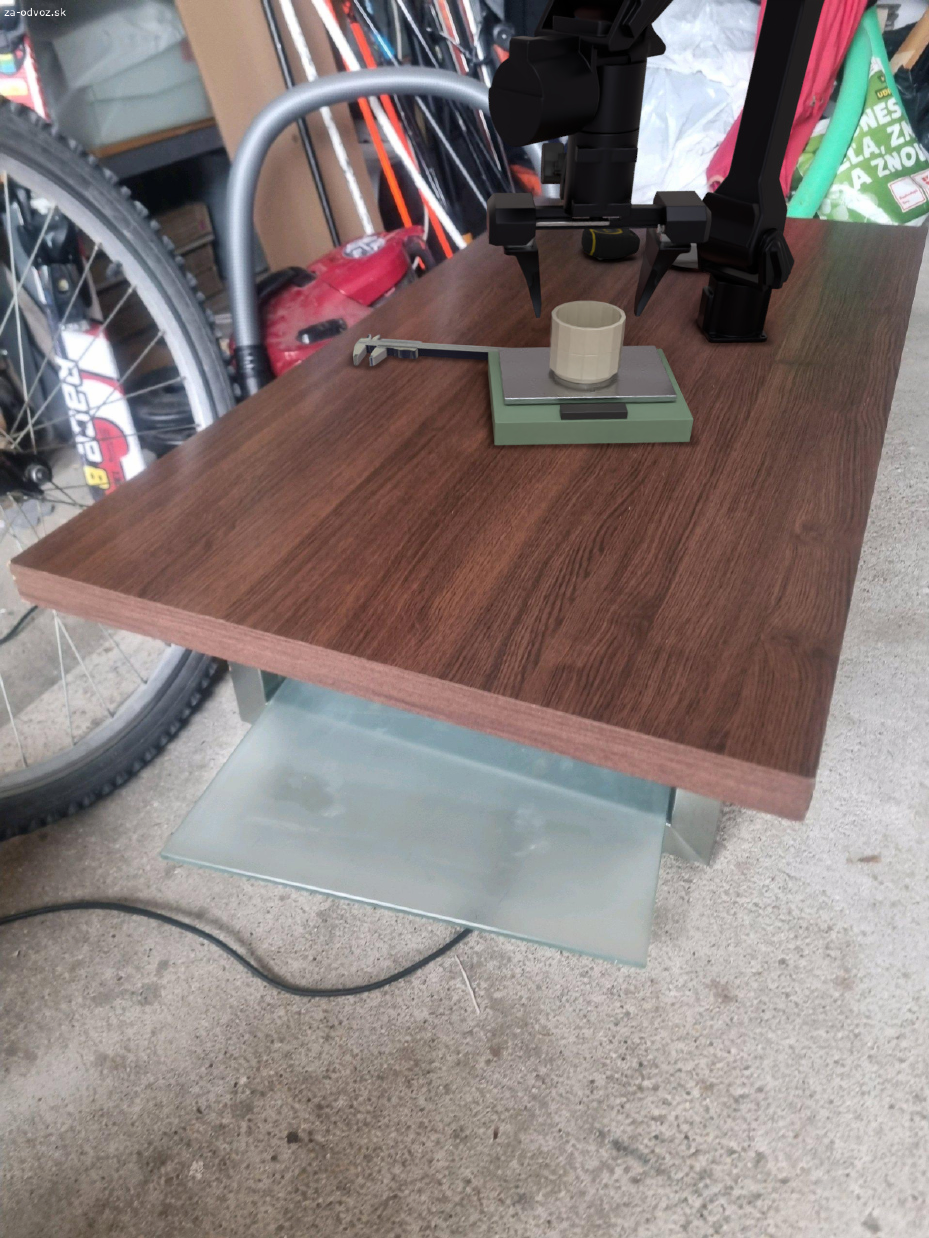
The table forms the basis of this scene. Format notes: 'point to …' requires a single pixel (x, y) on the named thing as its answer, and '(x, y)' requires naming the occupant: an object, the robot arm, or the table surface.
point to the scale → (587, 418)
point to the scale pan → (539, 384)
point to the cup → (586, 341)
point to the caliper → (415, 350)
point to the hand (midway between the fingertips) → (587, 315)
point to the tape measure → (610, 243)
